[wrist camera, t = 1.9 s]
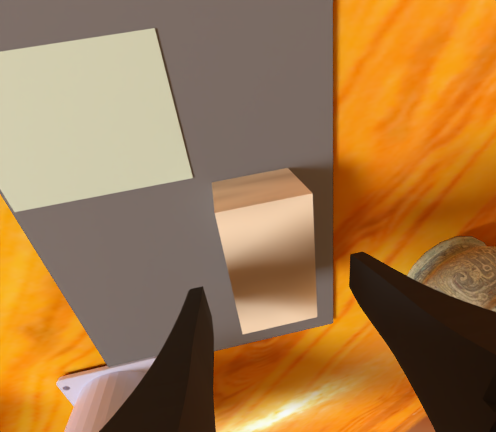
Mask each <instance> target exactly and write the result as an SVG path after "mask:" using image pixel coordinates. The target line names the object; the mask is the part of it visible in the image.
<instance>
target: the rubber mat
mask: <svg viewBox="0 0 496 432" xmlns="http://www.w3.org/2000/svg"><path fill="white" fill-rule="evenodd" d="M284 168H288V169H289V170H290V171H291V172H292V173H293V174H294V175H295V176H296V177H297V178H298V179H299V180H300V181H301V182H302V183H303V184H304V185H305V186H306V187H307V188H308V189H309V190H310V191H311V192H312V193H313V218H314V243H315V269H316V294H317V317H316V318H311V319H307V320H303V321H298V322H294V323H290V324H286V325H281V326H277V327H273V328H268V329H264V330H260V331H256V332H251V333H247V334H242V330H241V325H240V321H239V317H238V312H237V308H236V304H235V299H234V295H233V291H232V286H231V282H230V278H229V273H228V269H227V265H226V260H225V256H224V252H223V247H222V243H221V239H220V234H219V230H218V226H217V221H216V217H215V212H214V202H213V192H212V182H217V181H222V180H227V179H233V178H238V177H243V176H248V175H253V174H258V173H264V172H269V171H274V170H279V169H284ZM0 194H1V196H2V197H3V199H4V201H5V202H6V204H7V205H8V207H9V209H10V210H11V212H12V213H13V215H14V217H15V218H16V220H17V221H18V223H19V225H20V226H21V228H22V229H23V231H24V233H25V234H26V236H27V237H28V239H29V241H30V242H31V244H32V245H33V247H34V249H35V250H36V252H37V253H38V255H39V257H40V258H41V260H42V261H43V263H44V265H45V266H46V268H47V269H48V271H49V273H50V274H51V276H52V278H53V279H54V281H55V282H56V284H57V286H58V287H59V289H60V290H61V292H62V294H63V295H64V297H65V298H66V300H67V302H68V303H69V305H70V306H71V308H72V310H73V311H74V313H75V314H76V316H77V318H78V319H79V321H80V322H81V324H82V326H83V327H84V329H85V330H86V332H87V334H88V335H89V337H90V338H91V340H92V342H93V343H94V345H95V346H96V348H97V350H98V351H99V353H100V354H101V356H102V358H103V359H104V361H105V362H106V364H107V366H108V367H111V366H116V365H120V364H124V363H128V362H133V361H137V360H141V359H145V358H150V357H154V356H158V354H159V352H160V351H161V349H162V347H163V345H164V344H165V342H166V340H167V338H168V336H169V334H170V332H171V330H172V328H173V326H174V324H175V322H176V320H177V318H178V316H179V313H180V311H181V309H182V306H183V304H184V301H185V299H186V296H187V293H188V291H189V290H190V289H193V288H197V287H202V286H203V288H204V292H205V295H206V298H207V302H208V305H209V308H210V312H211V315H212V322H213V332H214V351H217V350H221V349H226V348H230V347H234V346H238V345H243V344H247V343H251V342H255V341H259V340H264V339H268V338H272V337H276V336H281V335H285V334H289V333H293V332H298V331H302V330H306V329H310V328H314V327H319V326H323V325H327V324H331V323H333V0H0Z"/></svg>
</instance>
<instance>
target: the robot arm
mask: <svg viewBox="0 0 496 432" xmlns="http://www.w3.org/2000/svg"><path fill="white" fill-rule="evenodd" d="M349 287H350V289H351V291H352V293H353V294H354V296H355V298H356V300H357V302H358V304H359V305H360V307H361V308H362V310H363V311H364V313H365V314H366V315H367V317H368V318H369V320H370V321H371V322H372V324H373V325H374V327H375V328H376V329H377V331H378V332H379V334H380V335H381V336H382V338H383V339H384V341H385V342H386V343H387V345H388V346H389V348H390V349H391V351H392V352H393V354H394V356H395V357H396V359H397V361H398V362H399V364H400V366H401V368H402V369H403V371H404V373H405V375H406V376H407V378H408V380H409V382H410V384H411V385H412V387H413V389H414V391H415V393H416V394H417V396H418V398H419V400H420V402H421V404H422V406H423V408H424V410H425V412H426V414H427V415H428V417H429V419H430V421H431V423H432V425H433V427H434V429H435V431H436V432H496V312H495V311H492V310H489V309H485V308H482V307H479V306H477V305H474V304H471V303H468V302H465V301H462V300H460V299H457V298H454V297H452V296H449V295H447V294H445V293H442V292H440V291H437V290H435V289H433V288H430V287H428V286H426V285H424V284H422V283H420V282H418V281H416V280H414V279H412V278H410V277H408V276H406V275H404V274H402V273H400V272H398V271H397V270H395V269H393V268H391V267H389V266H388V265H386V264H384V263H382V262H380V261H379V260H377V259H375V258H373V257H372V256H370V255H368V254H366V253H364V252H359V253H354V254H351V256H350V282H349ZM213 368H214V332H213V322H212V315H211V312H210V308H209V305H208V302H207V298H206V295H205V292H204V288H203V286H202V287H197V288H193V289H190V290H189V291H188V293H187V296H186V299H185V301H184V304H183V306H182V309H181V311H180V313H179V316H178V318H177V320H176V322H175V324H174V326H173V328H172V330H171V332H170V334H169V336H168V338H167V340H166V342H165V344H164V345H163V347H162V349H161V351H160V352H159V354H158V356H154V357H150V358H145V359H141V360H137V361H133V362H128V363H124V364H120V365H116V366H111V367H108V366H104V367H99V368H95V369H91V370H87V371H82V372H78V373H74V374H69V375H65V376H62V377H60V378H59V379H58V381H57V386H58V387H59V389H60V390H61V391H62V392H63V394H64V395H65V396H66V397H67V398H68V400H69V401H70V402H71V403H72V405H73V406H74V408H73V411H72V413H71V416H70V418H69V421H68V424H67V426H66V429H65V431H64V432H216V430H215V416H214V402H213Z"/></svg>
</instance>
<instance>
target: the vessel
mask: <svg viewBox="0 0 496 432" xmlns="http://www.w3.org/2000/svg"><path fill="white" fill-rule="evenodd" d="M407 276H408V277H410V278H412V279H414V280H416V281H418V282H420V283H422V284H424V285H426V286H428V287H430V288H433V289H435V290H437V291H440V292H442V293H445V294H447V295H449V296H452V297H454V298H457V299H460V300H462V301H465V302H468V303H471V304H474V305H477V306H479V307H482V308H485V309H489V310H492V311H495V312H496V247H495V246H486V244H485V243H484V242H482V241H480V240H478V239H476V238H474V237H472V236H456V237H454V238H451V239H448V240H446V241H443V242H440V243H439V244H437V245H436V246H434V247H433V248H431V249H430V250H428V251H427V252H425V253H424V255H423V256H422V257H421V258H420V259H419V260H418V261H417V262H416V263H415V264H414V265H413V267H412V268H411V269H410V271H409V273H408V275H407Z"/></svg>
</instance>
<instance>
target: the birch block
mask: <svg viewBox="0 0 496 432" xmlns="http://www.w3.org/2000/svg"><path fill="white" fill-rule="evenodd" d="M212 192H213V202H214V212H215V217H216V221H217V226H218V230H219V234H220V239H221V243H222V247H223V252H224V256H225V260H226V265H227V269H228V273H229V278H230V282H231V286H232V291H233V295H234V299H235V304H236V308H237V312H238V317H239V321H240V325H241V330H242V334H247V333H251V332H256V331H260V330H264V329H268V328H273V327H277V326H281V325H286V324H290V323H294V322H298V321H303V320H307V319H311V318H316V317H317V294H316V269H315V243H314V218H313V193H312V192H311V191H310V190H309V189H308V188H307V187H306V186H305V185H304V184H303V183H302V182H301V181H300V180H299V179H298V178H297V177H296V176H295V175H294V174H293V173H292V172H291V171H290V170H289V169H288V168H284V169H279V170H274V171H269V172H264V173H258V174H253V175H248V176H243V177H238V178H233V179H227V180H222V181H217V182H212Z"/></svg>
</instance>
